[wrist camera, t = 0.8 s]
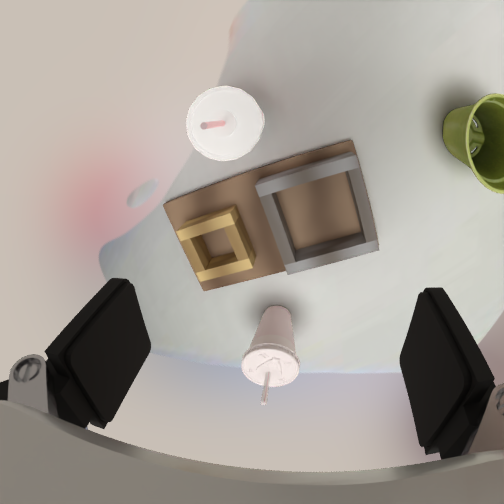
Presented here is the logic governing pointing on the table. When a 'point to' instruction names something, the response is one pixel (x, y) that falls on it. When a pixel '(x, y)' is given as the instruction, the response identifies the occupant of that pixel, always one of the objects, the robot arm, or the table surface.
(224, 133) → the beverage cup
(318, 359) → the table surface
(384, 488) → the robot arm
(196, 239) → the fitting board
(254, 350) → the smoothie
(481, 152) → the plant pot
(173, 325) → the table surface
